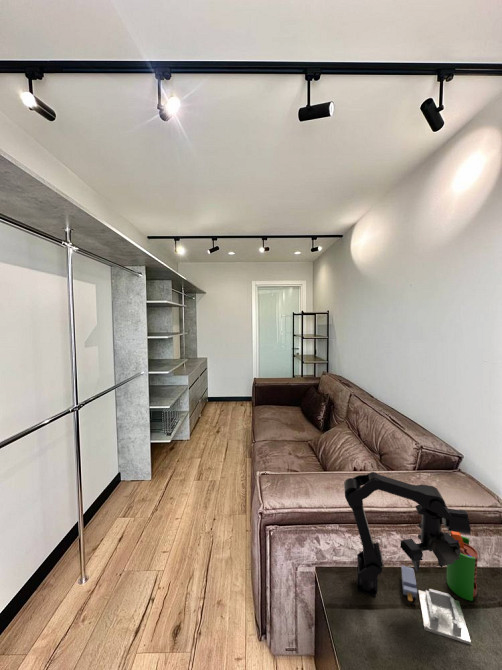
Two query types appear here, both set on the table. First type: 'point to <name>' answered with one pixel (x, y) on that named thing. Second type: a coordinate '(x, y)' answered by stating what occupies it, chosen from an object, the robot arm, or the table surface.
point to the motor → (463, 569)
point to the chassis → (443, 615)
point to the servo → (408, 582)
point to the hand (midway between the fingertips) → (428, 568)
